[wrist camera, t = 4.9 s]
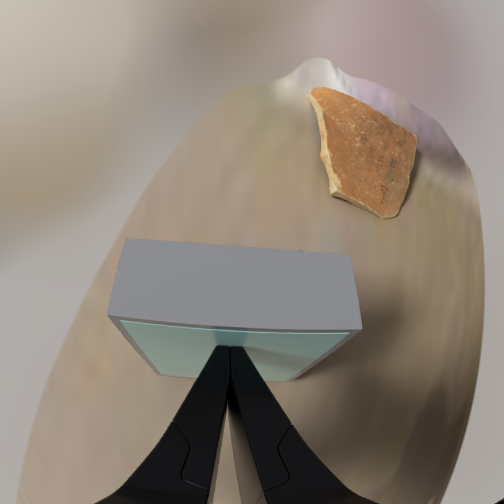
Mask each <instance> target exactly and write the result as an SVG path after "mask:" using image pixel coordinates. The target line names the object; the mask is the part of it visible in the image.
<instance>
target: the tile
mask: <svg viewBox="0 0 504 504" xmlns="http://www.w3.org/2000/svg"><path fill="white" fill-rule="evenodd" d="M107 315H108V317H109V318H110V319H111V321H112V322H113V323H114V324H115V326H116V327H117V328H118V329H119V331H120V332H121V333H122V334H123V336H124V337H125V338H126V339H127V341H128V342H129V343H130V344H131V345H132V346H133V348H134V349H135V350H136V351H137V352H138V354H139V355H140V356H141V357H142V358H143V359H144V360H145V362H146V363H147V364H148V365H149V366H150V367H151V368H152V369H153V370H154V372H155V373H156V374H157V375H165V376H174V377H184V378H195V379H197V377H198V376H199V374H200V372H201V371H202V369H203V367H204V365H205V364H206V362H207V360H208V359H209V357H210V355H211V353H212V352H213V350H214V348H215V347H216V346H217V345H227V346H229V348H230V346H242V347H244V349H245V351H246V352H247V354H248V355H249V357H250V359H251V360H252V362H253V364H254V365H255V367H256V368H257V370H258V372H259V373H260V375H261V376H262V378H263V380H264V381H265V382H291V381H292V380H294V379H295V378H297V377H298V376H300V375H301V374H303V373H304V372H306V371H307V370H309V369H310V368H311V367H313V366H314V365H316V364H317V363H319V362H320V361H321V360H323V359H324V358H326V357H327V356H328V355H330V354H331V353H332V352H334V351H335V350H336V349H338V348H339V347H340V346H342V345H343V344H344V343H346V342H347V341H348V340H350V339H351V338H352V337H353V336H355V335H356V334H357V333H359V332H360V331H361V330H362V329H363V328H362V321H361V314H360V307H359V301H358V295H357V289H356V283H355V278H354V272H353V267H352V262H351V257H350V255H344V254H331V253H319V252H306V251H293V250H280V249H267V248H254V247H241V246H228V245H214V244H201V243H187V242H174V241H160V240H146V239H132V238H126V239H125V242H124V246H123V249H122V253H121V257H120V260H119V264H118V268H117V272H116V276H115V280H114V285H113V289H112V293H111V298H110V302H109V307H108V312H107Z"/></svg>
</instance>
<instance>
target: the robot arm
mask: <svg viewBox="0 0 504 504" xmlns="http://www.w3.org/2000/svg"><path fill="white" fill-rule="evenodd" d="M227 409H228V418H229V426H230V433H231V440H232V447H233V454H234V460H235V467H236V473H237V480H238V486H239V492H240V498H241V503H242V504H379V503H376V502H374V501H371V500H369V499H366V498H364V497H362V496H359V495H358V494H356V493H354V492H353V491H351V490H350V489H348V488H347V487H346V486H345V485H344V484H343V483H342V482H341V481H340V480H339V479H338V478H337V477H336V476H335V475H334V474H333V473H332V472H331V471H330V470H329V469H328V468H327V467H326V466H325V465H324V464H323V462H322V461H321V460H320V459H319V458H318V457H317V456H316V455H315V454H314V452H313V451H312V450H311V449H310V448H309V447H308V445H307V444H306V443H305V441H304V440H303V439H302V437H301V436H300V435H299V433H298V432H297V430H296V429H295V427H294V426H293V425H291V424H292V423H291V421H290V420H289V418H288V417H287V415H286V414H285V412H284V411H283V409H282V408H281V406H280V405H279V403H278V402H277V400H276V399H275V397H274V395H273V394H272V392H271V391H270V389H269V388H268V386H267V384H266V383H265V381H264V380H263V378H262V376H261V375H260V373H259V372H258V370H257V368H256V367H255V365H254V364H253V362H252V360H251V359H250V357H249V355H248V354H247V352H246V351H245V349H244V347H242V346H230V348H229V346H227V345H217V346H216V347H215V348H214V350H213V352H212V353H211V355H210V357H209V359H208V360H207V362H206V364H205V365H204V367H203V369H202V371H201V372H200V374H199V376H198V377H197V379H196V381H195V383H194V384H193V386H192V388H191V389H190V391H189V393H188V395H187V396H186V398H185V400H184V401H183V403H182V405H181V406H180V408H179V410H178V412H177V413H176V415H175V417H174V418H173V421H172V422H171V423H170V425H169V426H168V428H167V430H166V431H165V433H164V434H163V436H162V437H161V439H160V441H159V442H158V443H157V445H156V446H155V447H154V449H153V450H152V451H151V452H150V454H149V455H148V456H147V457H146V459H145V460H144V461H143V462H142V463H141V464H140V466H139V467H138V468H137V469H136V470H135V471H134V473H133V474H132V475H131V476H130V477H129V478H128V480H127V481H126V482H125V483H124V484H123V485H122V486H121V487H120V488H119V489H118V490H116V491H115V492H114V493H112V494H111V495H109V496H107V497H106V498H104V499H102V500H100V501H98V502H96V503H94V504H213V498H214V492H215V485H216V479H217V472H218V465H219V459H220V452H221V446H222V439H223V432H224V426H225V419H226V412H227ZM495 504H504V498H503V499H502V500H500V501H498V502H497V503H495Z"/></svg>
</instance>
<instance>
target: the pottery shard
mask: <svg viewBox="0 0 504 504" xmlns="http://www.w3.org/2000/svg"><path fill="white" fill-rule="evenodd" d="M307 99H308V100H309V102H310V103H311V104H312V106H313V107H314V109H315V112H316V115H317V119H318V126H319V130H320V136H321V153H320V158H321V159H322V161H323V162H324V165H325V167H326V170H327V173H328V176H329V191H330V195H331V196H335V197H339V198H342V199H344V200H347V201H348V202H350V203H352V204H353V205H355V206H357V207H360V208H362V209H365V210H367V211H369V212H371V213H373V214H375V215H376V216H378V217H379V218H381V219H382V220H385V219H388V218H394V217H395V216H396V215H397V213H398V212H399V208H400V206H401V204H402V203H403V200H404V197H405V194H406V191H407V188H408V186H409V175H410V171H411V170H412V168H413V166H414V158H415V151H416V141H417V137H416V136H415V135H414V134H412V133H411V132H409V131H407V130H406V129H404V128H403V127H401V126H399V125H397V124H396V123H394V122H393V121H391V120H390V119H389V118H388V117H387V116H385V115H383V114H382V113H380V112H379V111H377V110H375V109H373V108H372V107H371V106H369V105H367V104H365V103H363V102H361V101H359V100H358V99H356V98H354V97H351V96H349V95H346V94H344V93H341V92H338V91H336V90H333V89H330V88H326V87H319V88H314V89H313V90H312V91H310V92H309V94H308V95H307Z"/></svg>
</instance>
